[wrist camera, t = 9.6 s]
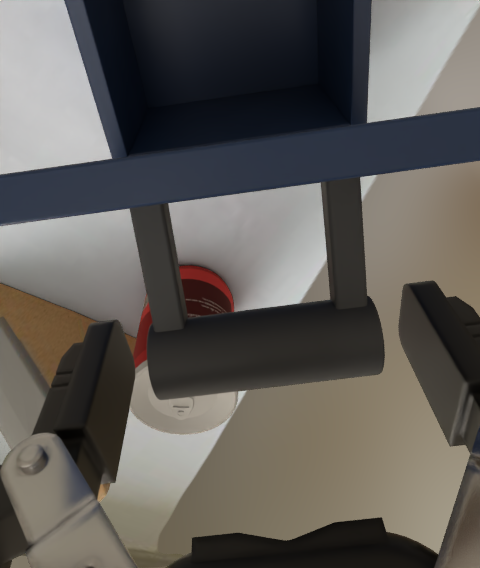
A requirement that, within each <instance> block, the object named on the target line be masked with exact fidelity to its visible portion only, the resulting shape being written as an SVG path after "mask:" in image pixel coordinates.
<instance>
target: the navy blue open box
mask: <svg viewBox="0 0 480 568" xmlns="http://www.w3.org/2000/svg"><path fill="white" fill-rule="evenodd" d="M64 1H65V4H66V7H67V10H68V14H69V17H70V20H71V24H72V27H73V30H74V34H75V37H76V40H77V43H78V47H79V50H80V53H81V57H82V60H83V63H84V67H85V70H86V73H87V76H88V80H89V83H90V86H91V90H92V93H93V96H94V99H95V103H96V106H97V109H98V113H99V116H100V119H101V123H102V126H103V129H104V132H105V136H106V139H107V142H108V146H109V149H110V152H111V156H112V159H115V158H122V157H129V156H136V155H143V154H150V153H158V152H165V151H172V150H179V149H186V148H193V147H200V146H207V145H214V144H222V143H229V142H236V141H243V140H250V139H257V138H264V137H271V136H278V135H286V134H293V133H300V132H307V131H314V130H321V129H328V128H335V127H342V126H350V125H357V124H364V123H367V104H368V79H369V54H370V28H371V3H372V0H64Z"/></svg>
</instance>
